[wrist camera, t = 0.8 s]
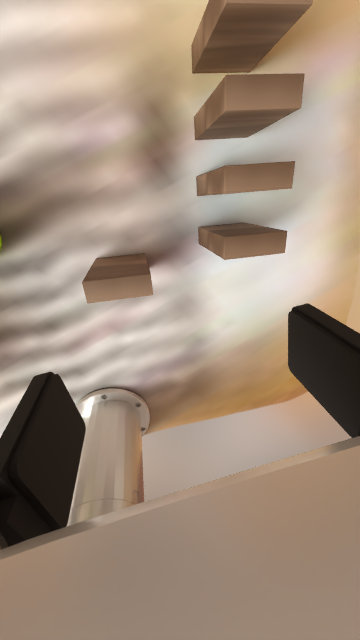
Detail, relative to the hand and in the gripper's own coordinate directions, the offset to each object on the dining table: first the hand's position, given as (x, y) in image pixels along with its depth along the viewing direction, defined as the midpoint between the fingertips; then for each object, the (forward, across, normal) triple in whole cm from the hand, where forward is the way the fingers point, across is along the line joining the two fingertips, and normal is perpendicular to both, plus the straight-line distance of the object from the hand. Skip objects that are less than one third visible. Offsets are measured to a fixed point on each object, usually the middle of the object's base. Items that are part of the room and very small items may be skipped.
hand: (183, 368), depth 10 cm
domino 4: (+24, -10, -6) cm, 27 cm away
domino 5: (+24, -10, 0) cm, 26 cm away
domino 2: (+24, -12, -17) cm, 32 cm away
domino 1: (+24, +4, +1) cm, 24 cm away
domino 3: (+24, -11, -11) cm, 29 cm away
